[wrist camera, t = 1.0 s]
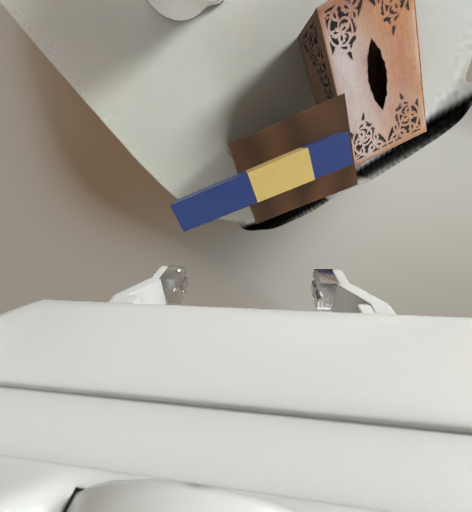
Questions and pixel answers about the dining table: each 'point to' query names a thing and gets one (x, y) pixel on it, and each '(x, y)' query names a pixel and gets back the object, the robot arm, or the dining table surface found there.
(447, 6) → the dining table surface
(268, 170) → the spaghetti packet
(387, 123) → the tissue box cover
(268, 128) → the brown box
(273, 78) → the dining table surface
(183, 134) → the dining table surface
